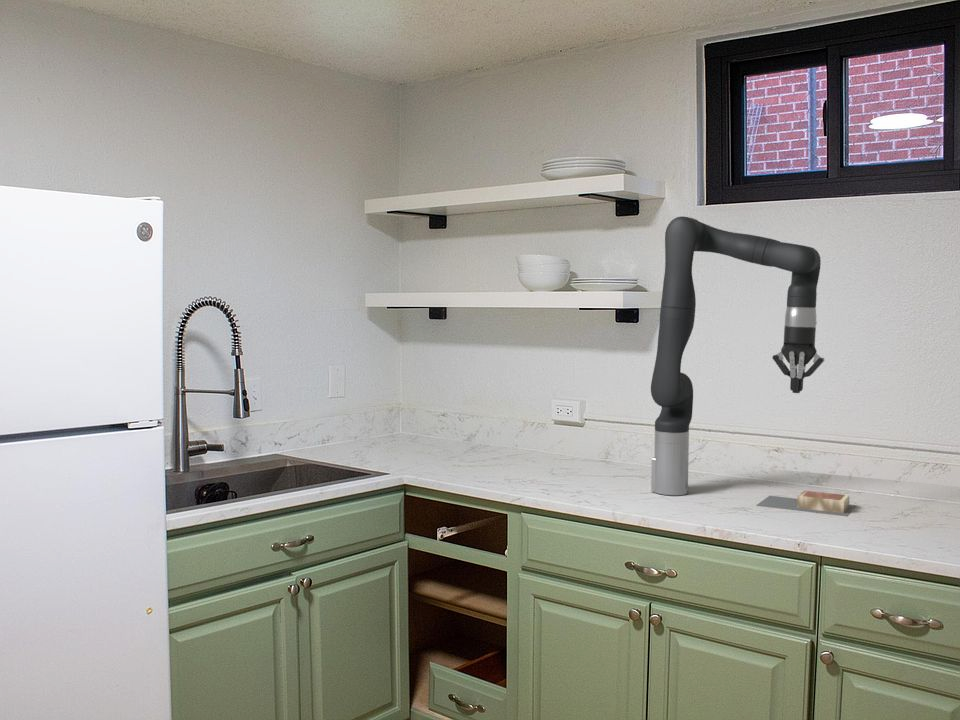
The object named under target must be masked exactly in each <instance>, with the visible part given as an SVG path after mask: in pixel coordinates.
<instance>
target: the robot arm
mask: <svg viewBox="0 0 960 720" xmlns="http://www.w3.org/2000/svg"><path fill="white" fill-rule="evenodd" d="M664 234H665V235H664V253H665V254H664V257H665V259H664V260H665V264H664V265H665V266H664V275H663V283H662V294H661V301H660V302H661V303H660V309H659V310H660V311H659V327H658V335H657V346H656V347H657V348H656V355H655V356H656V357H655V363H654V367H653V372H652V377H651V383H650V393H651V397H652V400H653V401H654V403H655V404H657V405H658V406H659V407H661V408H660V409H661V410H660V414H659V416H658V417H657V418H656V419H655V421H654V455H653V457H652V458H651V481H650V482H651V483H650V484H651V487H650V488H651V491H650V492H651V493H655V494H659V495H665V496H683V495H687V494H688V493H689V457H690V456H689V453H690V451H689V448H690V447H689V446H690V442H689V441H690V424H691V421H692V419H693V410H694V409H693V406H694V386H693V382H692V380H691V378H690V377H689V376H688V375H687V374H686V373H683V372H682V371H681V367H682V360H683V354H684V352H685V349H686V347H687V345H688V342H689V340H690V337H691V335H692V332H693V329H694V325H695V318H696V306H697V305H696V304H697V303H696V302H697V300H696V291H695V286H694V285H695V284H694V280H693V263H694V255H695V252H705V253H714V254H718V255H719V254H720V255H723V256H728V257H731V258H734V259H737V260H740V261H743V262H746V263H751V264H755V265H760V266H764V267H770V268H771V267H774V268H778V269H781V270H784V271H788V272H791V282H790V285H789V286H788V290H787V296H786V310H785V313H784V314H785V316H784V326H783V327H784V328H783V329H784V331H783V332H784V333H783V345H782V346H781V349H780V351H779V352H778V353H777V354H773V356H772V360H773V361H774V362H775V364H776V365H777V366H778V367H777V368H779V369H780V371H781V373H783V375H784V376H787V377H789V378H790V384H789V385H790V386H789V388H790V391H792V393H793V394H800V393H801V392H802V391H803V390H804V379H805V378H808V377H811V376H812V375H813V374H814V373H815V372H816V371H817V369H818V368H819V367H820V366H821V365H822V364H824V362H825V358H824V357H821V356H820V355H819V354H818V353H817V349H816V344H815V343H816V329H817V323H818V321H817V296H818V295H817V294H818V293H817V292H818V290H817V288H818V283H819V279H820V271H821V264H822V263H821V256H820V253H819V251H818V250H817V249H816V248H814V247H812V246H807V245H802V244H795V243H789V242H783V241H780V240H777V239H773V238H768V237H764V236H759V235H755V234H750V233H749V234H748V233H742V232H741V233H739V232H735V231H734V232H733V231H727V230H724V229H720V228H716V227H714V226H711V225H709V224H706V223H703V222H701V221H699V220H698V219H697V218H693V217H688V216H677V217H675V218H673V219H672V220H671V221H670V222H669V223H668V224H667V227H666V229H665V232H664ZM784 358H785V359H786V361H787V363H789V367H788V366H787V365H786V364H785V362H784V360H785V359H784ZM812 359H813V360H812ZM811 361H812V362H813V364H812V365H811V366H810V367H809V368H808V369H807V370H806V368H807V365H808V364H809V363H810V362H811Z"/></svg>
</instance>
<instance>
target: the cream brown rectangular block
mask: <svg viewBox="0 0 960 720" xmlns="http://www.w3.org/2000/svg"><path fill="white" fill-rule="evenodd" d="M797 499H798V501H797V508H803V509H812V510H820V511H829V512H838V513H844V512H845V511H846V510H847V509H848V508H849V504H850V495H849V494H841V493H832V492H822V491H814V490H803V491H802V492H800V493H799V494H798V495H797Z"/></svg>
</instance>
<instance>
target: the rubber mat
mask: <svg viewBox="0 0 960 720" xmlns="http://www.w3.org/2000/svg"><path fill="white" fill-rule="evenodd" d="M797 501H798V498H796V497H795V498H794V497H785V496H775V495H768V496H767V497H765V498H764V499H763V500H761V501H760V502H758V503H757V504H756V505H755V507H763V508H771V509H781V510H787V511H788V510H789V511H790V510H791V511H796V512H797V511H798V512H805V513H807V512H808V513H814V514H823V515H832V516H841V517H847V518H848V517H849V515H850V514H851V513H852V512H853V511H854V509H855V508H857V506H858V505H857V504H851V503H849V508H848V509H847V510H846V511H845V512H844V513H838V512H829V511H820V510H812V509H803V508H797Z"/></svg>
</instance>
